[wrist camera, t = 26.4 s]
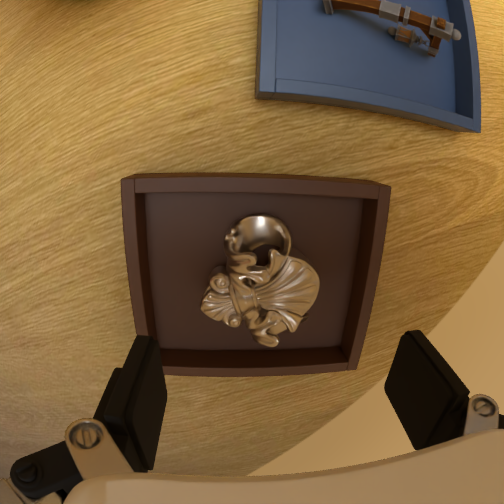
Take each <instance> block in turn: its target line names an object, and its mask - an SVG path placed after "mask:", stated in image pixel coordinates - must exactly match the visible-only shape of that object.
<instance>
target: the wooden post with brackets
mask: <svg viewBox="0 0 504 504" xmlns="http://www.w3.org/2000/svg"><path fill="white" fill-rule="evenodd" d="M323 3H324V7H325V10H326V14H328V13H329V14H333V12H334V9H345V10H353V11H361V12H368V13H372V14H376V15H379V18H384V19H387V20H390V21H393V22H395V23H397V24H398V21H399V22H402V23H403V24H402V25H405V26H407V24H409V25H412V26H415V27H418V28H420V29H421V30H422V32H423V33H424V34H425V35H426V36H427V38H428V39H429V40H430V41H427V40H425V41H424V40H423V39H422V36H420V38H419V36H417V35H416V32H415V28H413V30H409V29H407V28H404V27H402V26H400V25H399V24H398V27H397V29H396V28H395V27H393V26H391V27H389V28H388V33H389V34H390V35H396V36H395V41H396V40H399V41H403V42H406V43H408V44H410V45H409V47H411V46H412V45H413V44H414V43H415V42H416V43H417V42H418V46H419V45H421V44H424V45H425V46H427V45H426V41H427V42H430V43H429V46H427V47H429V48H428V55H430V56H432V57H435V56H436V54H437V53H438V51H439V46H440V42H441V40H442V39H444V40H446V41H448V42H449V41H450V39H451V38H452V39H454V40H460V38H461V33H460V32H459V31H458V30H457V29H453V25H454V24H453V23H449V22H447V21H446V20H445V19H442V18H440V17H438V18H437V17H435V16H432V18H431V17H428V16H426V15H423V14H420V13H418V12H415V11H412V10H410V8H411V7H407V6H406V8H403V7H401V4H396V3H392V2H389V1H386V0H381V1H379V0H323ZM423 41H424V43H422V42H423Z"/></svg>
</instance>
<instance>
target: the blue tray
mask: <svg viewBox="0 0 504 504" xmlns="http://www.w3.org/2000/svg"><path fill="white" fill-rule="evenodd" d="M379 1H381V0H379ZM386 1H389V2H392V3H396V4H401V7H403V8H406V6H407V7H411V8H410V10H412V11H415V12H418V13H420V14H423V15H426V16H428V17H431V18H432V16H435V17H437V18H438V17H440V18H442V19H445V20H446V21H447V22H449V23H453V24H454V25H453V29H457V30H458V31H459V32H460V33H461V38H460V40H454V39H452V38H451V39H450V41H449V42H448V41H446V40H444V39H442V40H441V42H440V46H439V51H438V53H437V54H436V56H435V57H432V56H430V55H428V48H429V47H427V46H429V43H430V42H427V41H430V40H429V39H428V38H427V36H426V35H425V34H424V33H423V32H422V30H421V29H420V28H418V27H415V26H412V25H409V24H407V26H405V25H402V24H403V23H402V22H399V21H398V24H399V25H400V26H402V27H404V28H407V29H409V30H413V28H415V32H416V35H417V36H419V38H420V36H422V39H423V40H424V41H425V40H427V41H426V45H427V46H425V45H424V44H421V45H419V46H418V42H417V43H416V42H415V43H414V44H413V45H412V46H411V47H409V45H410V44H408V43H406V42H403V41H399V40H396V41H395V36H396V35H390V34H389V33H388V28H389V27H391V26H393V27H395V28H396V29H397V27H398V24H397V23H395V22H393V21H390V20H387V19H384V18H379V15H376V14H372V13H368V12H361V11H353V10H345V9H334V12H333V14H329V13H328V14H326V10H325V7H324V3H323V0H259V2H258V28H257V55H256V83H255V99H265V100H281V101H293V102H304V103H314V104H322V105H330V106H338V107H345V108H352V109H358V110H364V111H370V112H375V113H381V114H386V115H391V116H396V117H400V118H405V119H410V120H414V121H418V122H422V123H426V124H430V125H434V126H438V127H442V128H445V129H449V130H453V131H456V132H469V133H481V91H480V73H479V60H478V51H477V42H476V35H475V28H474V22H473V16H472V11H471V5H470V1H469V0H386ZM424 41H423V42H422V43H424Z"/></svg>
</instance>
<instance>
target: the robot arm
mask: <svg viewBox="0 0 504 504" xmlns="http://www.w3.org/2000/svg"><path fill="white" fill-rule="evenodd" d="M384 389H385V393H386V395H387V396H388V398H389V400H390V402H391V404H392V406H393V408H394V409H395V412H396V414H397V416H398V418H399V419H400V422H401V423H402V425H403V427H404V429H405V431H406V433H407V435H408V437H409V439H410V441H411V443H412V445H413V447H414V449H415V450H417V451H414V452H411V453H407V454H403V455H399V456H395V457H391V458H387V459H383V460H378V461H374V462H369V463H364V464H359V465H354V466H348V467H342V468H336V469H330V470H322V471H314V472H305V473H295V474H283V475H267V476H196V475H179V474H162V473H147V472H148V470H153V467H154V461H155V456H156V451H157V446H158V441H159V436H160V431H161V426H162V421H163V417H164V412H165V407H166V403H167V389H166V384H165V378H164V372H163V367H162V361H161V354H160V348H159V342H158V340H154V339H153V336H145V335H137V336H136V338H135V340H134V343H133V345H132V347H131V349H130V352H129V354H128V356H127V359H126V361H125V363H124V365H123V368H115V369H114V371H113V373H112V375H111V377H110V380H109V382H108V384H107V386H106V389H105V391H104V393H103V396H102V398H101V400H100V403H99V405H98V407H97V410H96V412H95V414H94V417H93V419H92V418H82V419H78V420H76V421H74V422H72V423H71V424H70V425H69V426H68V427H67V429H66V431H65V436H64V437H65V441H62V442H60V443H58V444H55V445H53V446H50V447H48V448H46V449H43V450H41V451H38V452H36V453H33V454H30V455H28V456H25V457H23V458H20V459H19V460H17V461H16V462H15V463H14V464H13V466H12V468H11V471H10V477H9V478H8V479H7V480H5V479H4V478H2V479H1V480H0V504H504V415H501V414H499V407H498V405H497V403H496V402H495V401H494V399H492V398H491V397H489V396H486V395H483V394H477V395H474V396H472V397H471V398H469V397H468V395H469V393H470V391H469V390H468V389H467V387H466V386H465V385H464V383H463V382H462V381H461V379H460V378H459V377H458V376H457V374H456V373H455V372H454V371H453V369H452V368H451V367H450V366H449V364H448V363H447V362H446V361H445V359H444V358H443V357H442V356H441V355H440V353H439V352H438V351H437V350H436V348H435V347H434V346H433V345H432V344H431V343H430V341H429V340H428V339H427V338H426V337H425V335H424V334H423V333H422V332H421V331H420V330H413V331H407V332H405V334H404V335H402V336H401V339H400V342H399V345H398V348H397V351H396V354H395V357H394V360H393V363H392V366H391V368H390V371H389V374H388V377H387V380H386V382H385V387H384Z"/></svg>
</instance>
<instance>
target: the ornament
mask: <svg viewBox="0 0 504 504" xmlns="http://www.w3.org/2000/svg"><path fill="white" fill-rule="evenodd" d="M262 245H275V246H278V247H280V249H279V250H278V251H277V250H275V249H270V250H269V252H268V257H269V262H268V264H267V265H266V266H265V267H263V266H256V265H255V264H256V262H257V256H256V254H255V253H252V252H253V251H254V250H255V249H256V248H258V247H260V246H262ZM224 251H225V254H226V256H227V257H228V258H227V265H226V267H225V266H217V267H216V268H214V269H213V270H212V272H211V274H210V276H209V285H208V287H207V288H206V289H205V291H204V293H203V295H202V298H201V302H200V309H201V311H202V312H203V313H204V314H206V315H207V316H209V317H210V318H212V319H214V320H216V321H220V320H222V321H223V322H224V323H225V324H226V325H228V326H230V327H234V328H236V327H239V326H241V324H242V320H245V323H246V328H247V329H250V333H251V334H252V338H253V340H254V341H255V342H257V343H258V344H262V345H265V346H268V347H275V346H277V345H278V344H279V342H280V339H279V337H278V336H277V334H279V333H281V332H283V331H285V330H288V331H289V332H295V331H296V329H297V327H298V325H299V324H300V323H302V322H304V321H306V320H307V319H308V318H309V314H308V313H306V312H307V311H308V310H309V309H310V307H311V306H312V305H313V303H314V302H315V300H316V297H317V295H318V291H319V286H320V279H319V275H318V273H317V271H316V269H315V267H314V266H313V264H312V263H311V262H310V261H309V260H308V258H307V257H306V256H305V255H303V254H302V253H301V252H300V251H298V250H296V249H294V248H292V235H291V232H290V230H289V228H288V227H287V226H286V224H285V223H284V222H283V221H282V220H280V219H279V218H277V217H275V216H273V215H270V214H267V213H254V214H250V215H247V216H244V217H242V218H240V219H238V220H236V221H235V222H234V223H233V224H232V225H231V228H230V230H229V231H228V232H227V233H226V235H225V239H224Z"/></svg>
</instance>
